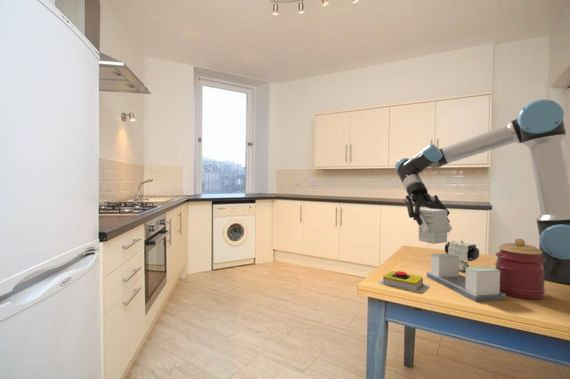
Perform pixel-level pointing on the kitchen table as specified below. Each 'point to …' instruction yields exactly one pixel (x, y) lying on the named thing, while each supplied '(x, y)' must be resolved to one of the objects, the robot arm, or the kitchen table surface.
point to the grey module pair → (467, 274)
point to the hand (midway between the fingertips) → (438, 230)
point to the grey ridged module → (434, 226)
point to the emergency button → (404, 281)
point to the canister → (521, 270)
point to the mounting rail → (459, 286)
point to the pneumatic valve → (462, 252)
